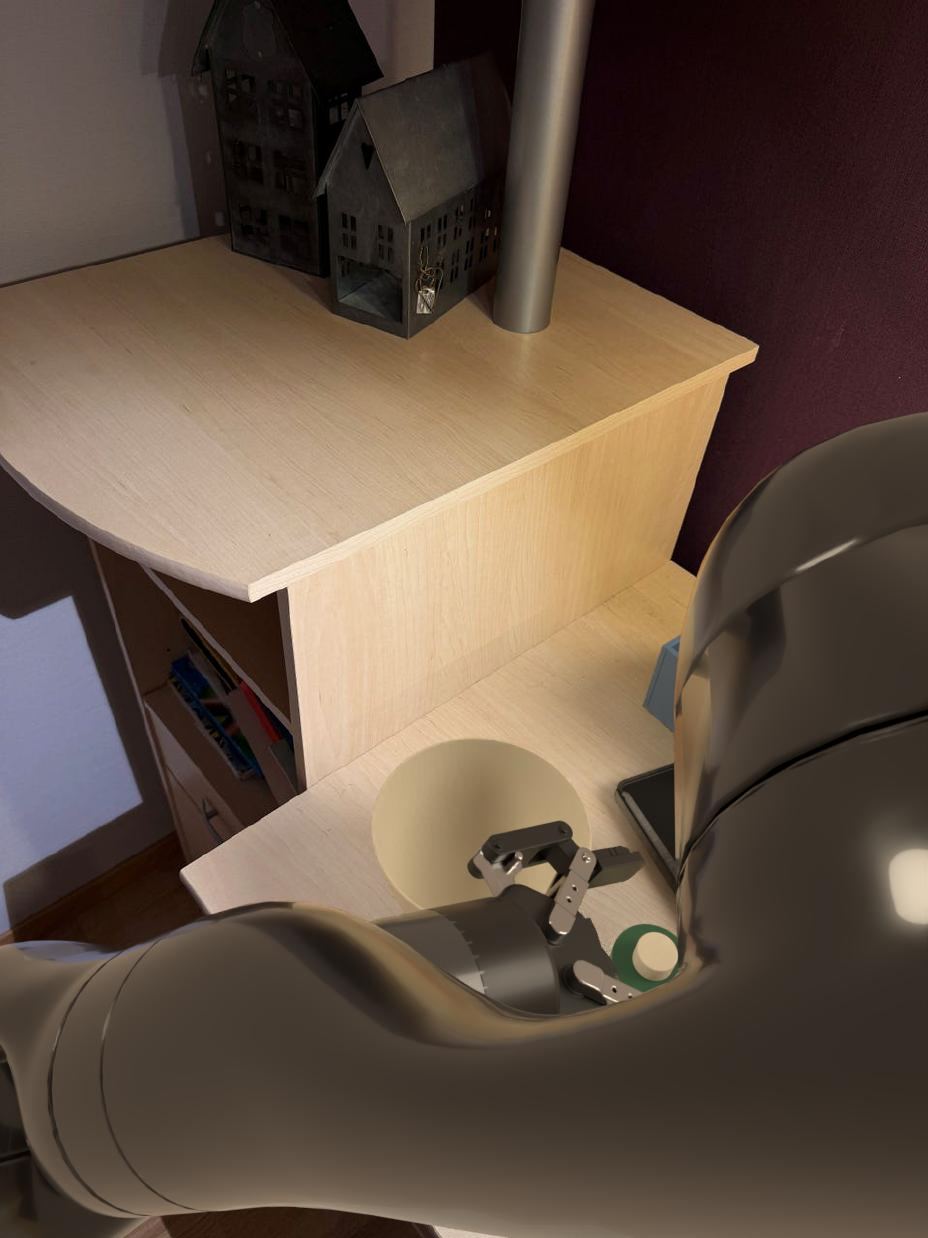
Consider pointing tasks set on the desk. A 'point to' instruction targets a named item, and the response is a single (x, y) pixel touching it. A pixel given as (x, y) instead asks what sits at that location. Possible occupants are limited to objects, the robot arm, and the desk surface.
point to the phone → (653, 815)
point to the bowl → (466, 817)
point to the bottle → (645, 956)
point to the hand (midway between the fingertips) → (673, 933)
